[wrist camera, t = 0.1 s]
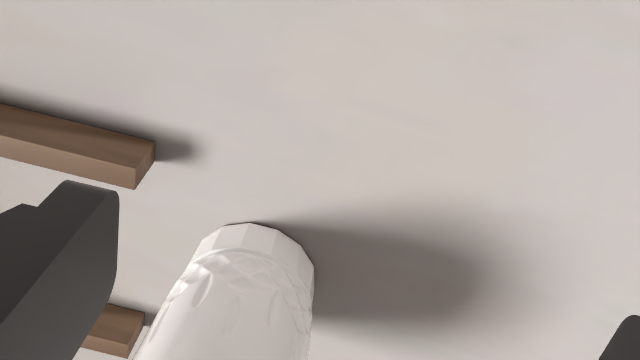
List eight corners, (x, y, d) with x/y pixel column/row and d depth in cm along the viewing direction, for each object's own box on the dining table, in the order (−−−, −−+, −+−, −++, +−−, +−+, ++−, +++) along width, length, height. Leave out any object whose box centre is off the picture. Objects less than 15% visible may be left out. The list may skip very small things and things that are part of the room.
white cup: (160, 271, 34) (78, 427, 26) (234, 185, 30) (166, 336, 22) (272, 341, 36) (230, 507, 28) (356, 269, 32) (335, 437, 24)
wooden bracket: (-90, 80, 29) (-128, 103, 27) (155, 141, 29) (135, 168, 27) (-52, 278, 37) (-80, 307, 35) (143, 326, 37) (127, 358, 35)
